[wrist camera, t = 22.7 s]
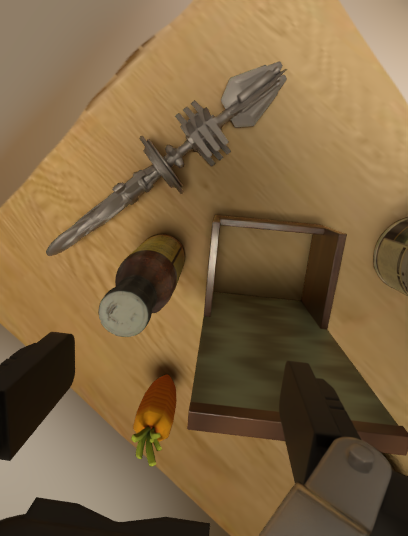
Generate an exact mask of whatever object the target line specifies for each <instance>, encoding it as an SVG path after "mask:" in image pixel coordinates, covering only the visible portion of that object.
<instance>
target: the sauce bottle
mask: <svg viewBox="0 0 408 536" xmlns="http://www.w3.org/2000/svg"><path fill="white" fill-rule="evenodd" d="M184 262H185V255H184V250H183V247H182V245H181V243H180V242H179V241H178V240H176V239H175V238H173V237H171V236H169V235H165V234H163V235H156V236H153V237H151V238H149V239H147V240H146V241H145V242H144V243H142V244H141V245H140V246H139V247H138V248H137V249H136V250H135V251H133V252H132V253H131V254H130V255H129V256H128V257H127V258H126V259H125V260H124V261H123V262H122V264H121V265H120V267H119V269H118V271H117V274H116V280H115V283H116V287H115V288H113V289H111V290H110V291H109V292H108V293H107V294H106V295H105V296H104V298H103V299H102V301H101V303H100V306H99V318H100V320H101V323H102V325H103V326H104V328H105V329H107V330H108V331H109V332H111V333H112V334H115V335H116V336H121V337H131V336H135V335H137V334H139V333H140V332H142V331H143V330H144V328H145V327H146V326H147V324H148V322H149V320H150V318H151V314H152V313H156V312H158V311H160V310H161V309H162V308H163V307H164V306H165V305H166V304H167V302H168V301H169V300H170V298H171V296H172V293H173V292H174V290H175V288H176V285H177V282H178V280H179V277H180V274H181V272H182V269H183V266H184Z"/></svg>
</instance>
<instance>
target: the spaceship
mask: <svg viewBox="0 0 408 536" xmlns="http://www.w3.org/2000/svg"><path fill="white" fill-rule="evenodd" d="M281 68H282V64H281V62H277V63H274V64H271V65H268V66H266V65H264V66H261V67H258V68H256V69H253V70H250V71H248V72H245V73H242V74H239V75H237V76H234V77H231V78H230V79H229V81H228V84H227V86H226V89H225V91H224V94H223V96H222V99H221V101H222V103H223V105H224V107H225V110H224V111H222V113H220V114H219V115H218V116H216V117H215V116H214V115H212V116H211V115H210V113H209V110H208V109H207V107H206V108H205V109H203V108H202V107H201V106H200V105H199V104H198V103H197V102H196V101H195V100H194V101H193V102H192V103H191V105H192V106H193V107H194V108H195V109H196V111H197V112H198V113H196V114H194V113H193V112H192V111H191V110H190V109H189V108H188V107H186V108H184V109H183V111H184V112H185V113H186V114H187V116H188V117H189V118H190V119H189V120H188V122H187V121H186V120H185V119H184V118H183V117H182V116H181V114H180V113H178V114H177V115H176V116H175V117H176V118H177V119H178V121H179V122H180V123H181V126H180V127H181V129H182V130H183V131H184V133H185V134H186V139H187V141H185V142H184V144H182V145H181V146H179V147H178V148H177V149H176V148H174V147H172V146H171V145H167V146H166V148H165V150H166V152H167V154H166V155H165V156H164V158H163V157H162V156H161V154H160V153H159V152H158V150H157V149H156V148H155V146H154V145H153V144H152V142H151V141H150V140H149V139H147V141H146V140H145V138H144V137H143V136H140V140H141V141H142V143H143V144H144V145H145V148H144V150H143V151H144V152H145V154H146V155H147V157H148V158H149V160H150V161H151V162H152V164H153V165H151V166H150V167H148V168H146V169H143V170H139V171H138V172H134V174H133V177H132V178H131V179H130V180H128V181H127V182H126V183H125V184H124V183H123V184H122V183H118V184H117V185H115V186H114V187H113V189H112V190H113V191H114V192H113V193H112V194H111V195H109V196H108V197H107V198H106V199H105V200H103V201H102V202H101V203H99V204H98V205H97V206H95V207H94V208H93V209H91V210H90V211H89V212H88V213H86V214H85V215H84V216H83V217H82V218H81V219H79V220H78V221H77V222H76V223H75V224H74V225H73V226H72V227H70V228H69V229H68V230H66V231H65V232H63V233H62V234H61V235H59V236H58V237H57V238H56V239H55V240H54V241H53V242H52V243H51V244H50V245H49V247H48V249H47V251H46V254H47V255H48V256H52V255H56V254H58V253H61V252H63V251H64V250H66V249H68V248H69V247H71V246H72V245H74V244H75V243H77V242H78V241H79V240H80V239H81V238H83V237H84V236H86V235H87V234H89V233H90V232H92V231H94V230H96V229H97V228H99V227H101V226H102V225H104V224H105V223H106V222H107V221H109V220H110V219H111V218H113V217H114V216H115V215H116V214H118V213H119V212H120V211H121V210H123V209H124V208H125V207H127V206H128V205H129V204H130V205H132V204H134V203H135V202H137V201H138V196H140V195H141V194H142V193H144V192H149V191H150V190H151V188H152V187H153V184H154V183H155V182H156V181H157V180H158V179H159V178H160V177H161V176H162V177H163V178H164V180H165V181H166V182H167V183H168V185H169V186H170V187H171V188H174V187H175V188H176V189H177V190H178V191H179V192H180V194H183V193H184V191H183V190H182V189H181V187H182V186H183V185H182V183H181V182H180V180H179V179H178V178H177V176H176V175H175V173H174V172H173V171H172V169H171V167H172V166H174V165H176V166H178V167H179V168H182V167H183V166H184V162H183V159H182V157H183V155H185V154H186V153H187V152H188V151H190V150H192V149H193V150H194V151H196V150H197V152H198V153H199V155H200V156H202V157H203V158H204V159H205V160H206V161H207V162H208V163H209V164H210V166H213V165H215V162H214V161H213V160H212V158H211V157H210V156H212V154H211V152H212V153H213V154H214V155H215V157H216V158H217V159H218V160H221V159H222V158H223V156H222V155H221V154H220V153H219V151H218V150H219V149H220V148H221V149H222V150H223V151H224V152H225V153H226V154H229V153H230V152H231V151H230V149H229V148H228V147H227V146H226V144H227V143H228V140H227V139H226V137H225V136H224V134H223V133H222V131H221V127H222V126H223V125H224V124H225V123H226V122H228V121H229V120H230V119H231V121H232V123H233V124H234V126H235V127H246V126H254V125H255V124H256V122H257V121H258V120H259V118H260V117H261V116H262V114H263V113H264V112H265V110H266V109H267V108H268V106H269V105H270V104H271V102H272V101H273V100H274V98H275V97H276V96H277V94H278V91H279V90H280V88H281V87H282V85H283V84H284V83H285V81H286V79H287V78H286V76H285V75H282V74H283V73H284V72H285V71H286V70H287V69H285V70H283V71H282V72H280V69H281ZM281 75H282V76H281ZM209 150H210V151H211V152H210V151H209ZM93 210H94V211H93Z"/></svg>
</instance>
